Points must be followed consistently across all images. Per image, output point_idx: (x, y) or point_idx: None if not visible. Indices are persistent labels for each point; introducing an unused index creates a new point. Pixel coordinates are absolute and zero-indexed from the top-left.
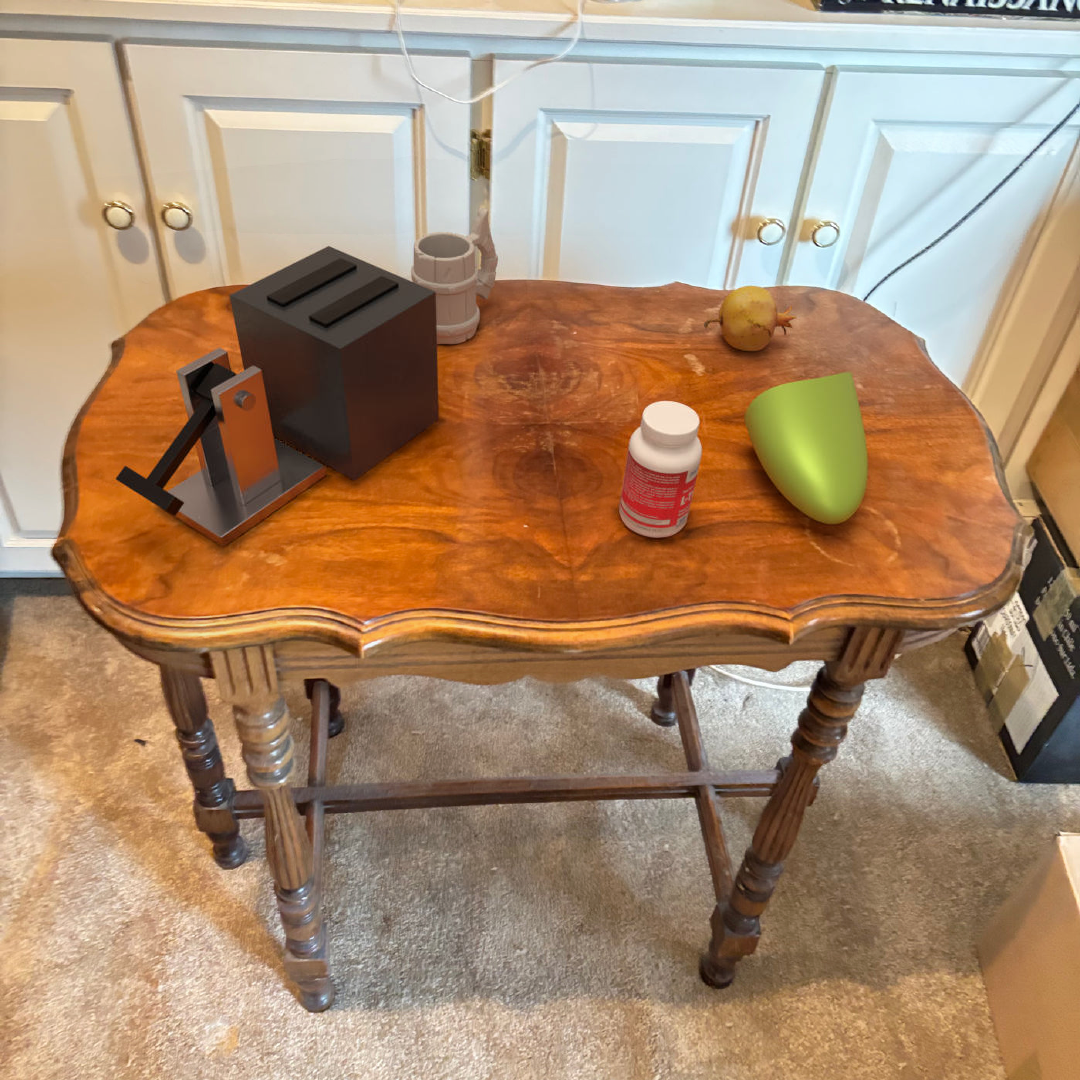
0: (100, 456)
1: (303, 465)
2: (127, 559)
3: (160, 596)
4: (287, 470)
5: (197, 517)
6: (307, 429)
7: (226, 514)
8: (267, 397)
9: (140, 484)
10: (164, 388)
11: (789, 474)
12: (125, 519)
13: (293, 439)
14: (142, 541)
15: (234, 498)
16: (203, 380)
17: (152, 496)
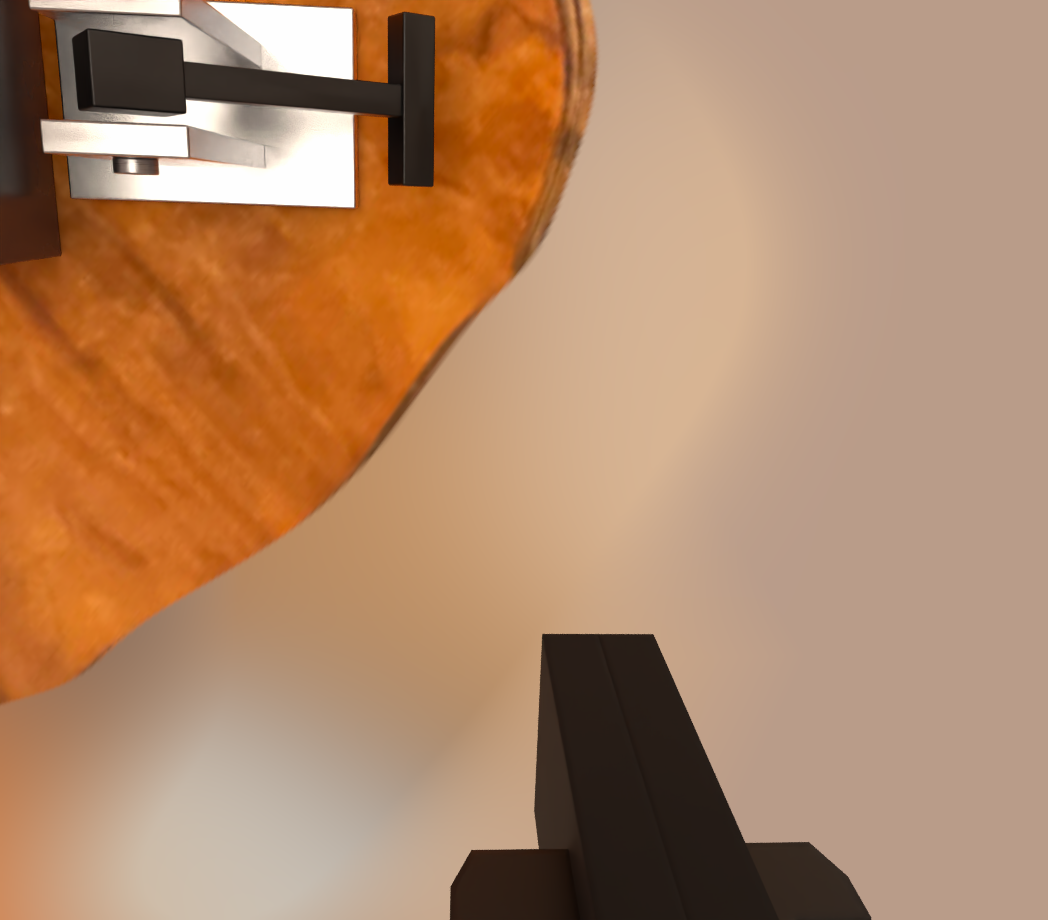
0: (335, 420)
1: None
2: (487, 143)
3: (514, 12)
4: None
5: None
6: (8, 61)
7: (301, 51)
8: (7, 191)
9: (418, 116)
10: (114, 501)
11: None
12: (420, 235)
13: (39, 123)
14: (439, 160)
15: None
16: (154, 107)
17: (425, 68)
